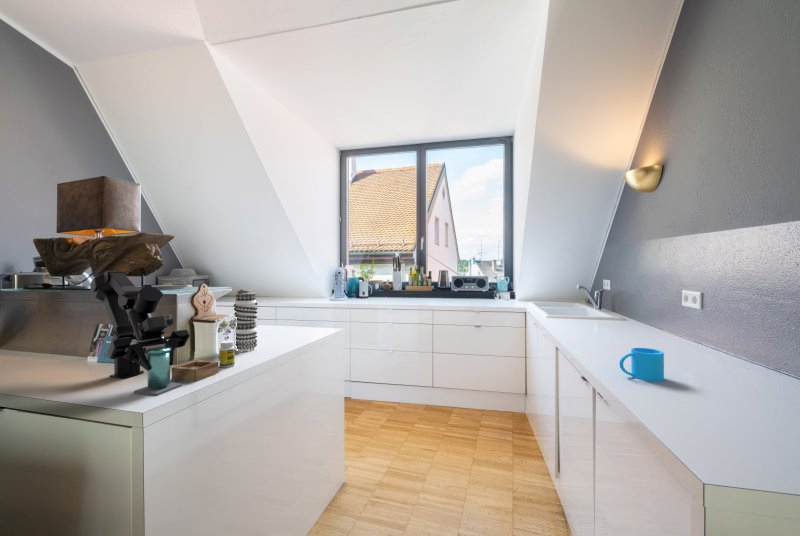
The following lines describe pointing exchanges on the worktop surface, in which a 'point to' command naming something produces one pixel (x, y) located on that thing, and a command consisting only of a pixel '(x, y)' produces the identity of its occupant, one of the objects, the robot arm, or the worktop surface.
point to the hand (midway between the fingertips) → (160, 367)
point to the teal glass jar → (158, 366)
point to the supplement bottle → (226, 354)
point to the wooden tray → (195, 370)
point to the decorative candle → (245, 319)
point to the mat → (157, 389)
